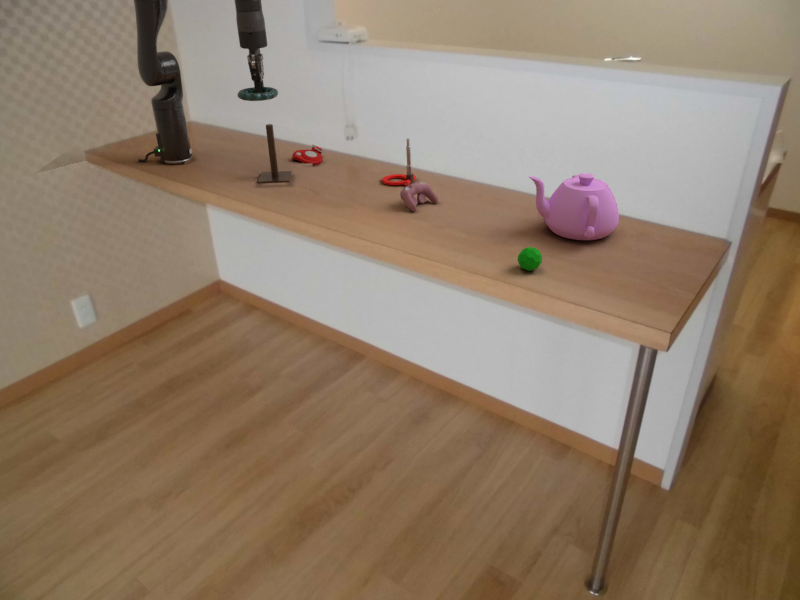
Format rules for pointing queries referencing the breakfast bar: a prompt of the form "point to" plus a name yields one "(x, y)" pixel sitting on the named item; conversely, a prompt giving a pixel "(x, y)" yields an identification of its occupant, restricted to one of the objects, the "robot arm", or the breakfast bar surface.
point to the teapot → (579, 208)
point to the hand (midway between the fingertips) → (260, 93)
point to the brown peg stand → (273, 162)
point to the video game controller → (421, 191)
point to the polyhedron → (530, 258)
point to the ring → (257, 94)
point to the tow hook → (408, 178)
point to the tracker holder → (309, 155)
